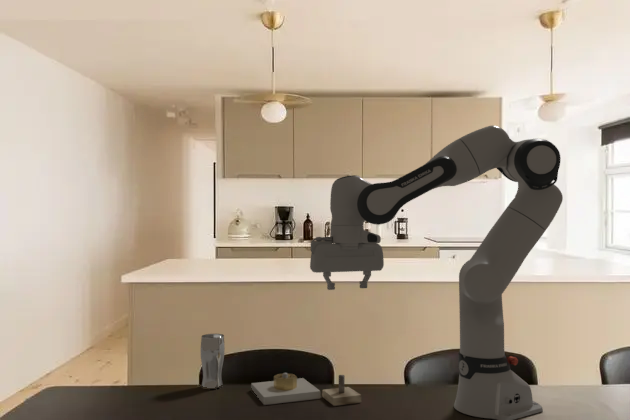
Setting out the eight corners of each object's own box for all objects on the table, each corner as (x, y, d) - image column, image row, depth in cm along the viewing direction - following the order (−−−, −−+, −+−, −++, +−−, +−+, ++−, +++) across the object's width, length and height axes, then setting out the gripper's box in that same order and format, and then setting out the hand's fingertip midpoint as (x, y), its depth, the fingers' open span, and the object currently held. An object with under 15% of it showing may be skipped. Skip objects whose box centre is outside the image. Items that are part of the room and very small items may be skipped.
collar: (291, 383, 150) (292, 372, 150) (298, 388, 145) (298, 378, 145) (271, 385, 148) (272, 374, 148) (278, 391, 142) (278, 380, 143)
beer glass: (218, 391, 149) (219, 338, 149) (195, 389, 150) (196, 337, 151) (227, 384, 155) (228, 334, 156) (205, 383, 157) (206, 332, 158)
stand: (348, 394, 147) (348, 370, 147) (361, 402, 139) (361, 377, 140) (322, 397, 144) (322, 373, 144) (333, 405, 136) (333, 380, 137)
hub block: (303, 384, 156) (303, 364, 156) (320, 398, 143) (320, 376, 143) (251, 390, 150) (251, 369, 150) (264, 404, 137) (264, 381, 137)
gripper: (314, 236, 131) (315, 291, 131) (386, 236, 139) (386, 288, 138) (306, 236, 137) (306, 289, 137) (375, 236, 145) (375, 286, 144)
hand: (347, 288), depth 137 cm, fingers open, 8 cm apart
